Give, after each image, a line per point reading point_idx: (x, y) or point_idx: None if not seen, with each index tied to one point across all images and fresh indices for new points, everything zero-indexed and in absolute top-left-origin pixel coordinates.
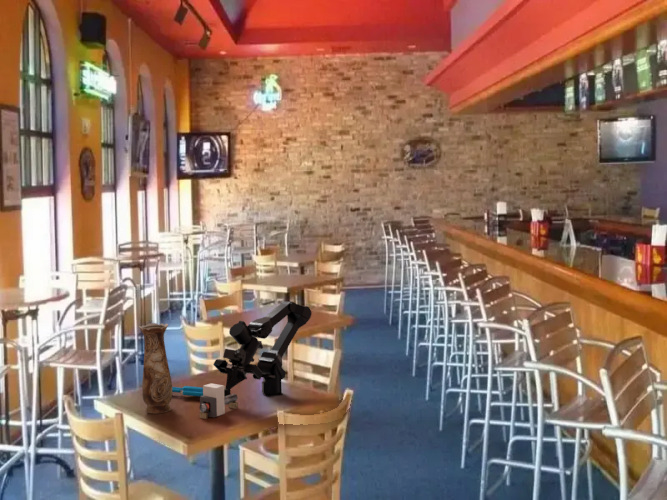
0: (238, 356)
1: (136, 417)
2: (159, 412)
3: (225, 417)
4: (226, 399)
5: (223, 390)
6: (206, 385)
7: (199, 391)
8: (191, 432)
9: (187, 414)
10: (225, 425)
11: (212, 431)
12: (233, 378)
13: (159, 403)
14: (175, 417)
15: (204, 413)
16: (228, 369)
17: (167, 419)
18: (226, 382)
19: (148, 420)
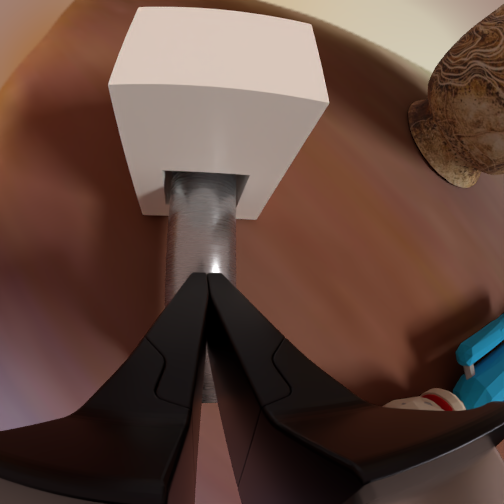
0: None
1: (412, 62)
2: (411, 105)
3: (104, 175)
4: (170, 254)
5: (118, 112)
6: (291, 32)
7: (492, 363)
8: (132, 4)
9: (323, 129)
10: (45, 94)
11: (66, 36)
12: (131, 361)
13: (429, 80)
14: (325, 83)
15: None
16: (391, 437)
17: (326, 59)
18: (255, 311)
19: (362, 43)
